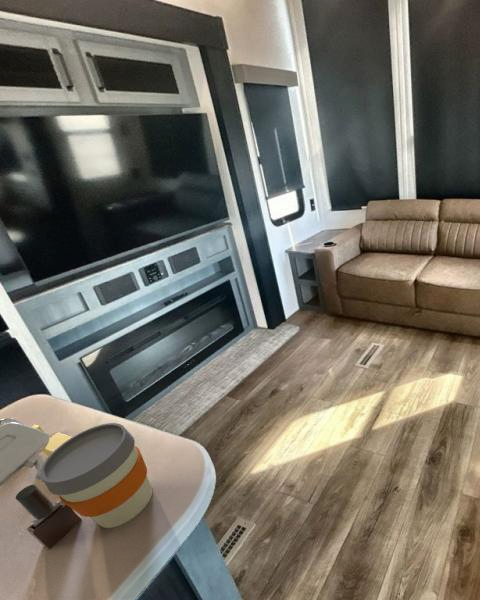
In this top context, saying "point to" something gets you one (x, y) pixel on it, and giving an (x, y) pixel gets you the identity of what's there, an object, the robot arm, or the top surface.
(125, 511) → the reusable coffee cup
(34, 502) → the knife
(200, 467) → the top surface
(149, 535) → the top surface
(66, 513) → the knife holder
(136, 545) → the top surface
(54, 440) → the butter stick
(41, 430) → the butter slice
